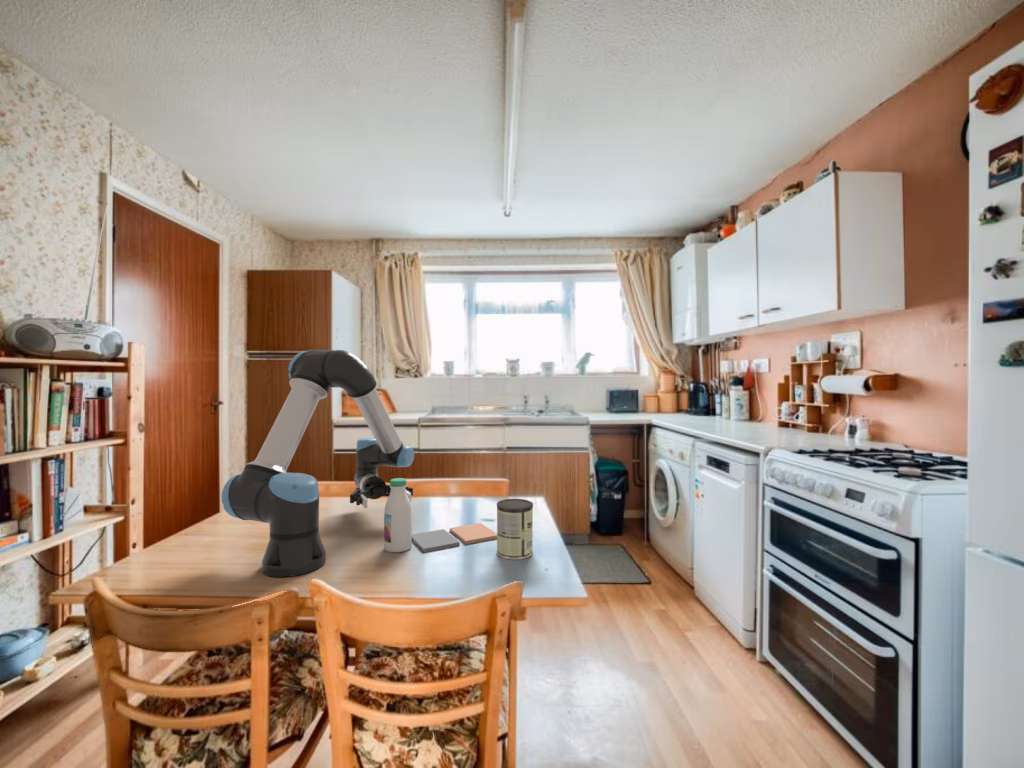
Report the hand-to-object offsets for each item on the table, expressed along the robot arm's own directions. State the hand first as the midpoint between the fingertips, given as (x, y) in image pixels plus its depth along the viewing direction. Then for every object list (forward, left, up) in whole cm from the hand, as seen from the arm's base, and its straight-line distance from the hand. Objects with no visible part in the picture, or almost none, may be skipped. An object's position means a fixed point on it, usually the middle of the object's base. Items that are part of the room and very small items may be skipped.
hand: (388, 501), depth 142 cm
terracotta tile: (+24, -11, -11) cm, 29 cm away
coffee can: (+28, -30, -11) cm, 43 cm away
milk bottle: (0, -11, -11) cm, 16 cm away
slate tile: (+11, -11, -11) cm, 19 cm away
